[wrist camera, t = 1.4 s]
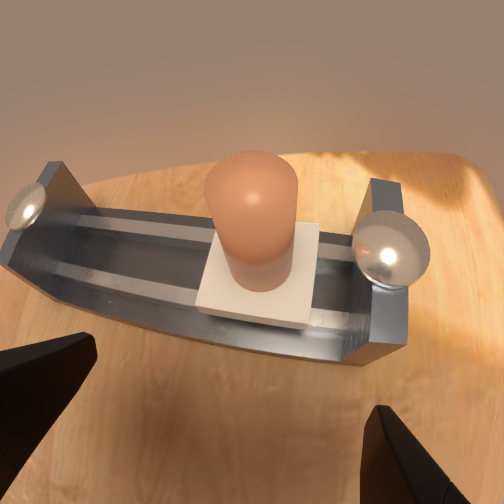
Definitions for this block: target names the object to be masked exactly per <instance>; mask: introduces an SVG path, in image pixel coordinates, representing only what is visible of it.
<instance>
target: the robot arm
mask: <svg viewBox="0 0 504 504" xmlns="http://www.w3.org/2000/svg"><path fill="white" fill-rule="evenodd" d="M97 356H98V355H97V349H96V343H95V339H94V337H93V336H92V335H91V334H88V333H86V332H80V333H76V334H72V335H68V336H64V337H60V338H56V339H51V340H47V341H43V342H39V343H34V344H30V345H26V346H21V347H17V348H12V349H8V350H3V351H0V501H1V499H2V497H3V496H4V494H5V493H6V491H7V490H8V488H9V487H10V485H11V484H12V482H13V481H14V479H15V478H16V476H17V475H18V473H19V472H20V470H21V469H22V467H23V466H24V464H25V463H26V461H27V460H28V459H29V457H30V456H31V454H32V453H33V451H34V450H35V449H36V447H37V446H38V444H39V443H40V442H41V440H42V439H43V438H44V436H45V435H46V433H47V432H48V431H49V429H50V428H51V427H52V425H53V424H54V423H55V421H56V420H57V418H58V417H59V416H60V414H61V413H62V412H63V410H64V409H65V408H66V407H67V405H68V404H69V403H70V401H71V400H72V399H73V397H74V396H75V395H76V393H77V392H78V390H79V389H80V387H81V385H82V384H83V382H84V380H85V379H86V377H87V375H88V374H89V372H90V371H91V369H92V367H93V366H94V364H95V363H96V361H97ZM360 504H471V503H470V502H469V501H468V500H467V499H466V498H465V497H464V495H463V494H462V493H461V492H460V491H459V490H458V488H457V487H456V486H455V485H454V484H453V482H450V479H449V478H448V476H447V475H446V474H445V473H444V471H443V470H442V469H441V468H440V467H439V465H438V464H437V463H436V462H435V461H434V459H433V458H432V457H431V456H430V454H429V453H428V452H427V451H426V450H425V448H424V447H423V446H422V445H421V444H420V442H419V441H418V440H417V439H416V437H415V436H414V435H413V434H412V433H411V431H410V430H409V429H408V428H407V427H406V425H405V424H404V423H403V422H402V421H401V419H400V418H399V417H398V416H397V415H396V413H395V412H394V411H393V410H392V409H391V407H390V406H387V405H376V406H375V407H374V408H373V410H372V412H371V414H370V416H369V418H368V420H367V422H366V424H365V427H364V437H363V448H362V458H361V468H360Z"/></svg>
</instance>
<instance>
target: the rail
mask: <svg viewBox="0 0 504 504" xmlns="http://www.w3.org/2000/svg"><path fill="white" fill-rule="evenodd" d="M5 220H6V224H7V226H8V227H9V228H10V231H9V233H8V235H7V237H6V239H5V241H4V243H3V245H2V248H1V250H0V265H1V266H2V267H4V268H5V269H7V270H8V271H9V272H11V273H12V274H14V275H15V276H17V277H18V278H20V279H21V280H22V281H24V282H25V283H27V284H28V285H30V286H31V287H33V288H35V289H36V290H38V291H39V292H41V293H42V294H44V295H45V296H47V297H49V298H50V299H52V300H54V301H56V302H59V303H62V304H65V305H68V306H71V307H74V308H77V309H80V310H83V311H86V312H89V313H92V314H96V315H99V316H102V317H105V318H109V319H112V320H115V321H119V322H122V323H126V324H129V325H133V326H137V327H140V328H144V329H148V330H152V331H156V332H160V333H164V334H168V335H172V336H176V337H180V338H184V339H189V340H193V341H198V342H202V343H207V344H212V345H217V346H222V347H227V348H232V349H237V350H243V351H248V352H254V353H260V354H266V355H272V356H278V357H285V358H292V359H299V360H306V361H314V362H322V363H331V364H341V365H351V366H364V365H367V364H369V363H371V362H373V361H375V360H377V359H379V358H382V357H384V356H386V355H388V354H390V353H392V352H394V351H396V350H398V349H400V348H402V347H404V346H405V345H407V335H408V286H410V285H412V284H414V283H415V282H416V281H417V280H418V279H419V278H420V277H421V276H422V275H423V274H424V273H425V271H426V269H427V267H428V265H429V261H430V247H429V243H428V240H427V238H426V236H425V234H424V232H423V231H422V229H421V228H420V227H419V226H418V225H417V224H416V223H415V222H414V221H413V220H412V219H410V218H409V217H407V216H406V215H404V210H403V201H402V193H401V185H400V183H397V182H392V181H386V180H380V179H375V178H371V179H370V182H369V185H368V188H367V191H366V194H365V197H364V200H363V202H362V205H361V208H360V211H359V214H358V217H357V219H356V222H355V225H354V228H353V230H352V233H351V236H350V235H343V234H335V233H328V232H321V231H319V241H318V251H317V261H316V270H315V278H314V287H313V295H312V303H311V310H310V318H309V324H308V327H307V329H306V330H302V329H295V328H288V327H281V326H274V325H268V324H262V323H255V322H249V321H243V320H238V319H232V318H226V317H221V316H215V315H210V314H205V313H201V312H200V311H199V310H198V309H197V307H196V306H195V302H196V299H197V295H198V291H199V287H200V284H201V280H202V277H203V273H204V269H205V266H206V262H207V259H208V255H209V252H210V248H211V245H212V241H213V238H214V234H215V231H216V228H215V225H214V222H213V219H212V218H205V217H195V216H186V215H176V214H166V213H155V212H145V211H134V210H122V209H111V208H98V207H96V206H95V205H94V203H93V202H92V201H91V199H90V198H89V197H88V196H87V194H86V193H85V192H84V190H83V189H82V188H81V186H80V185H79V183H78V182H77V181H76V179H75V178H74V177H73V175H72V174H71V172H70V171H69V170H68V168H67V167H66V165H65V164H64V163H63V162H62V161H56V162H48V164H47V165H46V167H45V168H44V170H43V171H42V173H41V175H40V176H39V178H38V180H37V181H36V182H35V183H31V184H29V185H27V186H25V187H24V188H23V189H21V190H20V191H19V192H18V193H17V195H16V196H15V197H14V198H13V200H12V201H11V203H10V205H9V207H8V209H7V212H6V219H5Z"/></svg>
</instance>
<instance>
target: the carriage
mask: <svg viewBox="0 0 504 504" xmlns="http://www.w3.org/2000/svg"><path fill="white" fill-rule="evenodd" d="M297 193H298V179H297V176H296V173H295V171H294V169H293V168H292V167H291V165H290V164H289V163H288V162H286V161H285V160H284V159H282V158H281V157H279V156H277V155H274V154H271V153H267V152H262V151H246V152H241V153H237V154H234V155H231V156H229V157H227V158H225V159H223V160H222V161H220V162H219V163H218V164H216V165H215V166H214V167H213V168H212V170H211V171H210V172H209V174H208V176H207V178H206V180H205V184H204V194H205V198H206V201H207V204H208V207H209V210H210V213H211V216H212V219H213V222H214V225H215V228H216V231H215V234H214V238H213V241H212V245H211V248H210V252H209V255H208V259H207V262H206V266H205V269H204V273H203V277H202V280H201V284H200V287H199V291H198V295H197V299H196V302H195V306H196V307H197V309H198V310H199V311H200V312H201V313H205V314H210V315H215V316H221V317H226V318H232V319H238V320H243V321H249V322H255V323H262V324H268V325H274V326H281V327H288V328H295V329H302V330H306V329H307V327H308V324H309V318H310V310H311V303H312V295H313V287H314V278H315V270H316V261H317V251H318V241H319V230H320V224H316V223H309V222H301V221H296V209H297Z"/></svg>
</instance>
